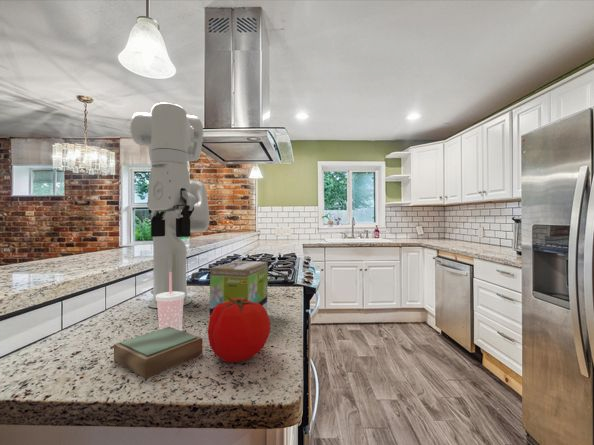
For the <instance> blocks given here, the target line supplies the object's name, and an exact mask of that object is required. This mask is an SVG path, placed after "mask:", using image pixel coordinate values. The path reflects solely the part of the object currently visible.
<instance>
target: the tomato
mask: <svg viewBox="0 0 594 445" xmlns="http://www.w3.org/2000/svg"><path fill="white" fill-rule="evenodd" d="M226 297H227V296H226ZM227 298H228V299H229V301H228V302H225V303H220V304H218V305H217V306H216V307H215V308H214V310H213V312H212V314H211V316H210V319H209V320H208V324H207V325H208V326H207V338H208V343H209V347H210V349H211V350H212V352H213V353H214V355H215V356H216V357H218V359H220V360H222V361H225V362H226V363H231V364H232V363H238V362H239V363H240V362H245V361H247V360H250V359H252V358H254V357H255V356H256V355H257V354H259V353H260V352H261V351H262V350H263V349H264V347H265V345H266V343H267V341H268V340H269V337H270V334H271V320H270V316H269V313H268V310H267V311H266V310H265V308H264V307H263V306H262V305H260V304H259V303H258V302H251V301H249V300H246V299H247V298H246V299H239V298H235V299H230V298H229V297H227Z"/></svg>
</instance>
